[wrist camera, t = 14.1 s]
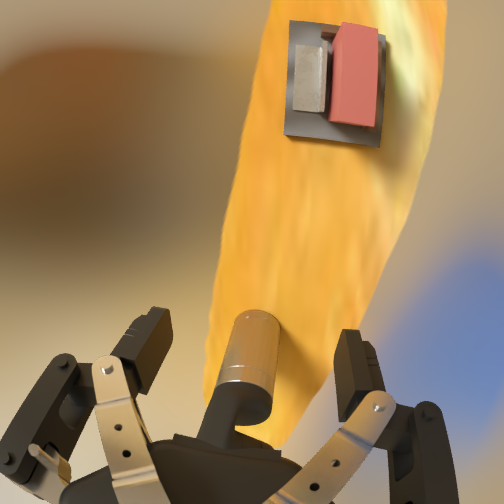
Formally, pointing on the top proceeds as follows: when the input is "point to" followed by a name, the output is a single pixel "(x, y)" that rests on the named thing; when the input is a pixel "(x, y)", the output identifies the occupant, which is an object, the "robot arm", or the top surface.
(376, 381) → the robot arm
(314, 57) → the bookend
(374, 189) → the top surface
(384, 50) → the book rack
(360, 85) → the book
